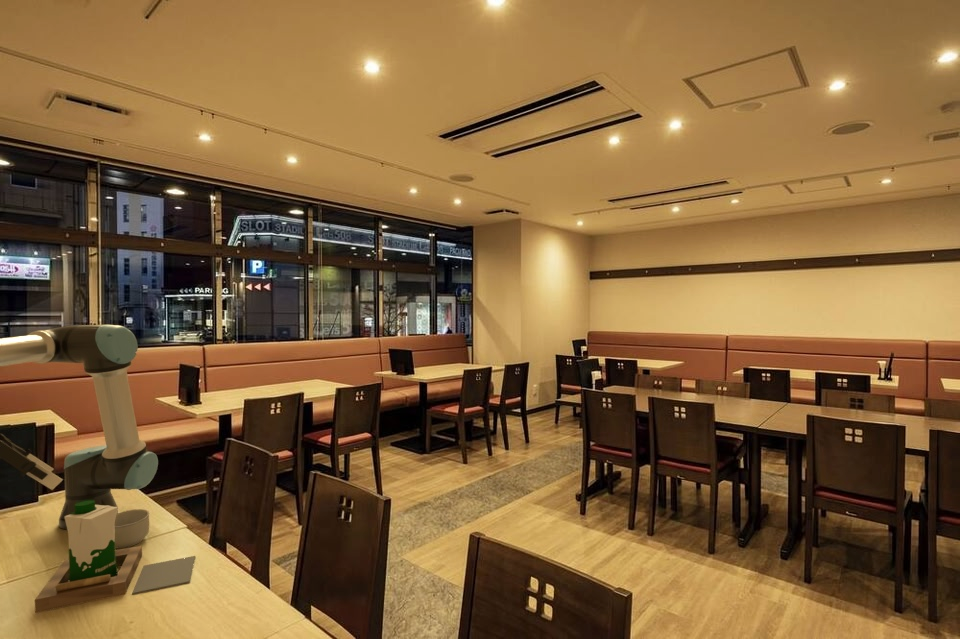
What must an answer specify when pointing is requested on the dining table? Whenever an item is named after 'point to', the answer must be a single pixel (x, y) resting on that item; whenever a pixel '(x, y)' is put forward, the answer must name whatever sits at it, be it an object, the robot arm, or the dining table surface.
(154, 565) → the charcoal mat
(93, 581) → the frame
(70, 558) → the soya milk
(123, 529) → the teacup
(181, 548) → the dining table surface
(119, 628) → the dining table surface
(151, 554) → the dining table surface
